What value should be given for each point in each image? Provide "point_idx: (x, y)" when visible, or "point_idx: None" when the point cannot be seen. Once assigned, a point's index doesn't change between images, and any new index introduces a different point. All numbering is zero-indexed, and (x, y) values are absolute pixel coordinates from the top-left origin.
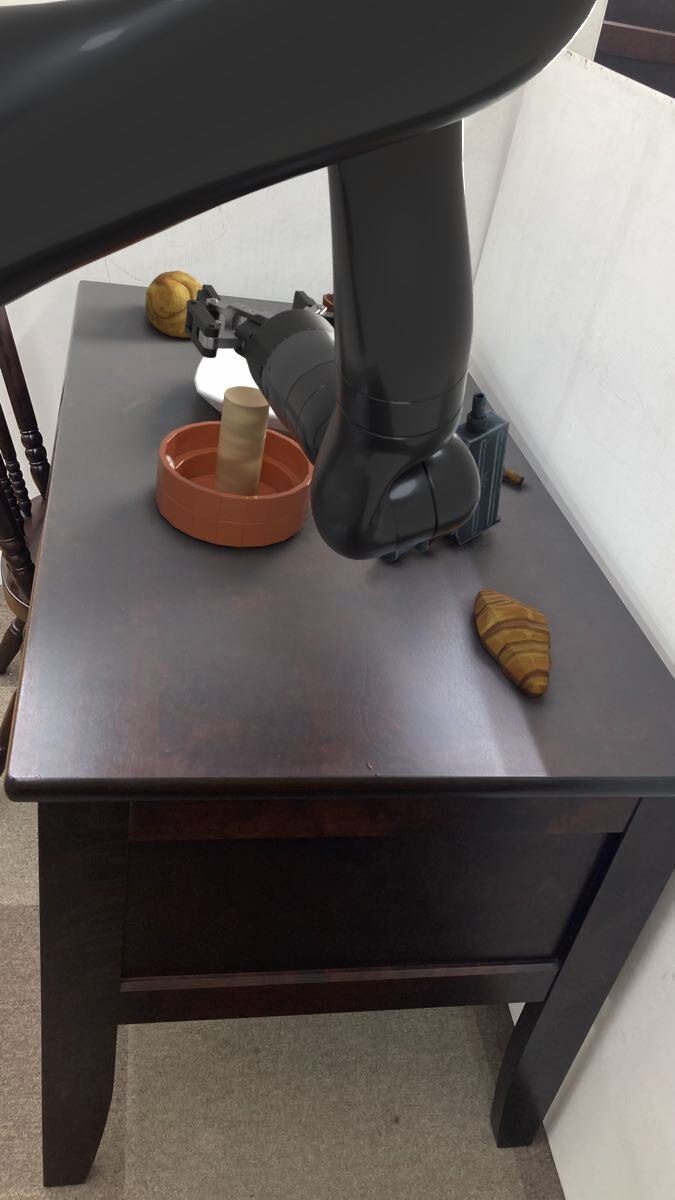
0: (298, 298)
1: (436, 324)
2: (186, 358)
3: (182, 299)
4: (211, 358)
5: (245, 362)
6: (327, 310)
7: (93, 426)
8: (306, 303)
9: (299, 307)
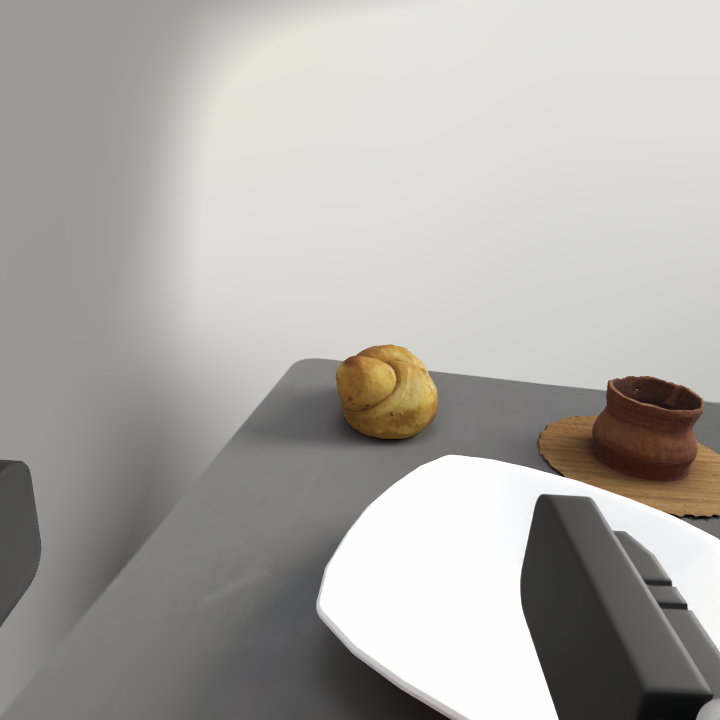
0: (557, 553)
1: None
2: (375, 477)
3: (381, 386)
4: (386, 506)
5: (460, 504)
6: (615, 406)
7: (108, 653)
8: (622, 654)
9: (562, 617)
